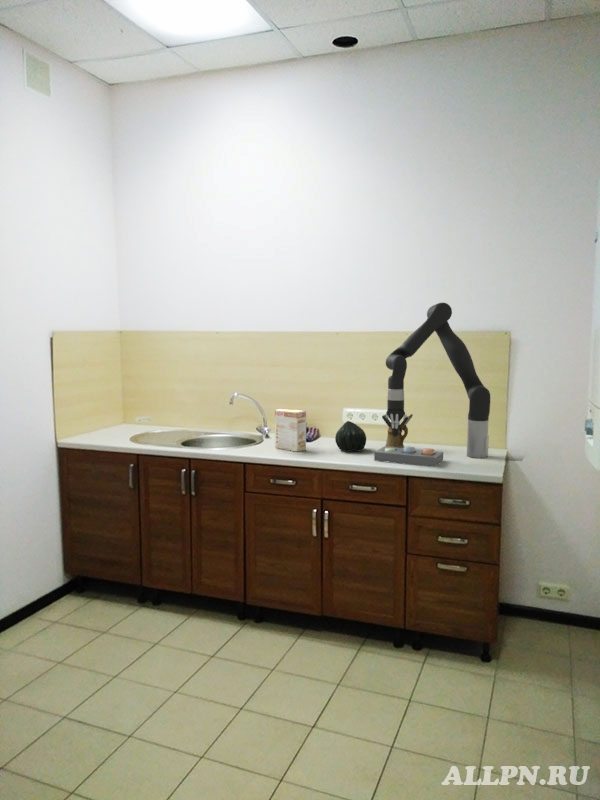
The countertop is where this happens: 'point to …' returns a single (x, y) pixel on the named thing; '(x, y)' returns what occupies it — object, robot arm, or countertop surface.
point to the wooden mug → (400, 438)
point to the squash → (350, 437)
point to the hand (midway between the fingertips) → (395, 436)
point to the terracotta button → (428, 451)
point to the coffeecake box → (290, 429)
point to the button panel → (408, 457)
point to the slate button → (409, 449)
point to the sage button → (390, 449)
